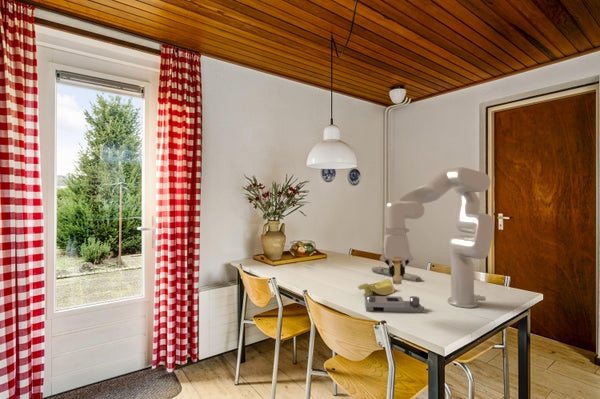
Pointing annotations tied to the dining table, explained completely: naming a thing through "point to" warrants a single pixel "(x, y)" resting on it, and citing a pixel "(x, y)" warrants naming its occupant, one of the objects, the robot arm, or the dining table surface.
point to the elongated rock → (386, 272)
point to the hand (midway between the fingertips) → (397, 275)
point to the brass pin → (397, 270)
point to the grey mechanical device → (393, 304)
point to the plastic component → (378, 288)
